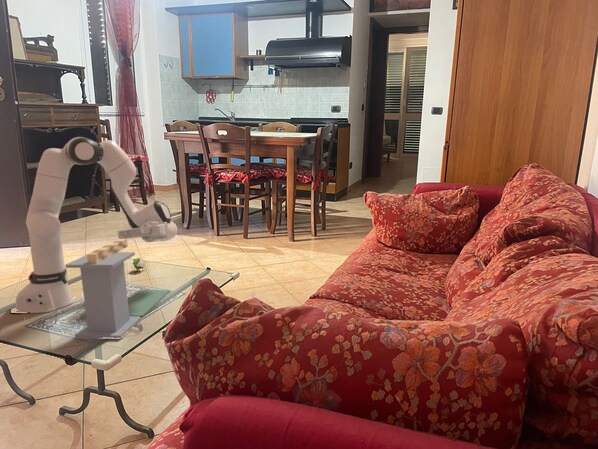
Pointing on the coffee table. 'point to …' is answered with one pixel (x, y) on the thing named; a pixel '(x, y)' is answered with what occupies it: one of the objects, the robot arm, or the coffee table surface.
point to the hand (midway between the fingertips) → (129, 232)
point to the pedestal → (105, 297)
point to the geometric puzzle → (138, 264)
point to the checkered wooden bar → (106, 251)
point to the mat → (144, 301)
